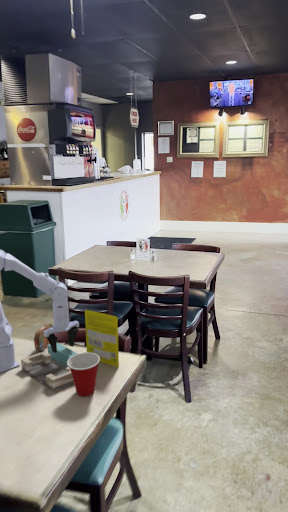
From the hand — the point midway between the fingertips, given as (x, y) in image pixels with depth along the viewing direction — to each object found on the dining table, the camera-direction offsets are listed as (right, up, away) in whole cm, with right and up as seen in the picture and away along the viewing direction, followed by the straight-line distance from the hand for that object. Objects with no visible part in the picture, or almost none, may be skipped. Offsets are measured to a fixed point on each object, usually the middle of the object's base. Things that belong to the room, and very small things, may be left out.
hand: (63, 348), depth 168 cm
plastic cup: (+11, -10, -22) cm, 27 cm away
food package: (+15, -5, -1) cm, 16 cm away
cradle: (-3, -7, -10) cm, 13 cm away
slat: (0, -5, +1) cm, 5 cm away
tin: (-10, -2, +15) cm, 18 cm away
